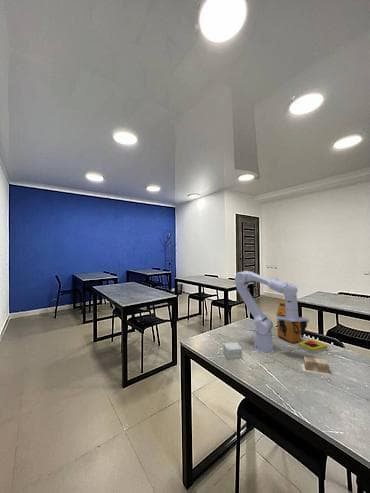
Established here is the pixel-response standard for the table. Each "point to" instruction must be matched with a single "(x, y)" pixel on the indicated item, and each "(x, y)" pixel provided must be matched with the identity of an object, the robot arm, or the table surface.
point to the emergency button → (312, 346)
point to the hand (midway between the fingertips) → (293, 336)
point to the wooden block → (316, 365)
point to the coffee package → (288, 326)
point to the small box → (232, 350)
